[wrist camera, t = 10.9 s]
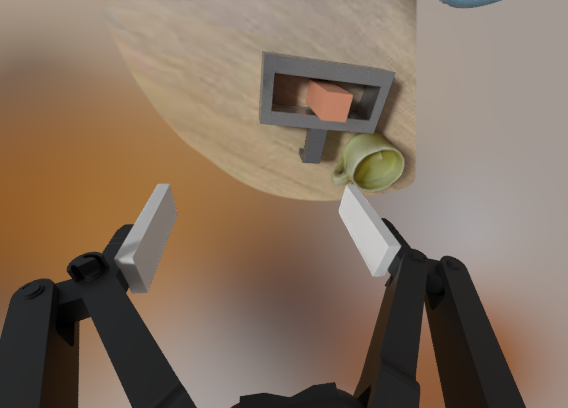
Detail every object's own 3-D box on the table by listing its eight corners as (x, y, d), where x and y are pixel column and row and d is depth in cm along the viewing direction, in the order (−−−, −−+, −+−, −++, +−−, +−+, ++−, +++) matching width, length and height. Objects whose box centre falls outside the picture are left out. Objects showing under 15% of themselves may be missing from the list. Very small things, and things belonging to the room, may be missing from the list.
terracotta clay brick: (305, 102, 38) (321, 120, 30) (309, 79, 36) (327, 91, 28) (325, 104, 39) (345, 122, 31) (330, 81, 37) (353, 94, 29)
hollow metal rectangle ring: (262, 51, 33) (264, 53, 29) (379, 68, 37) (395, 72, 33) (256, 150, 42) (257, 162, 38) (350, 156, 46) (360, 168, 42)
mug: (399, 117, 40) (416, 157, 34) (385, 158, 48) (396, 196, 43) (329, 122, 41) (335, 162, 36) (327, 162, 50) (331, 199, 44)
